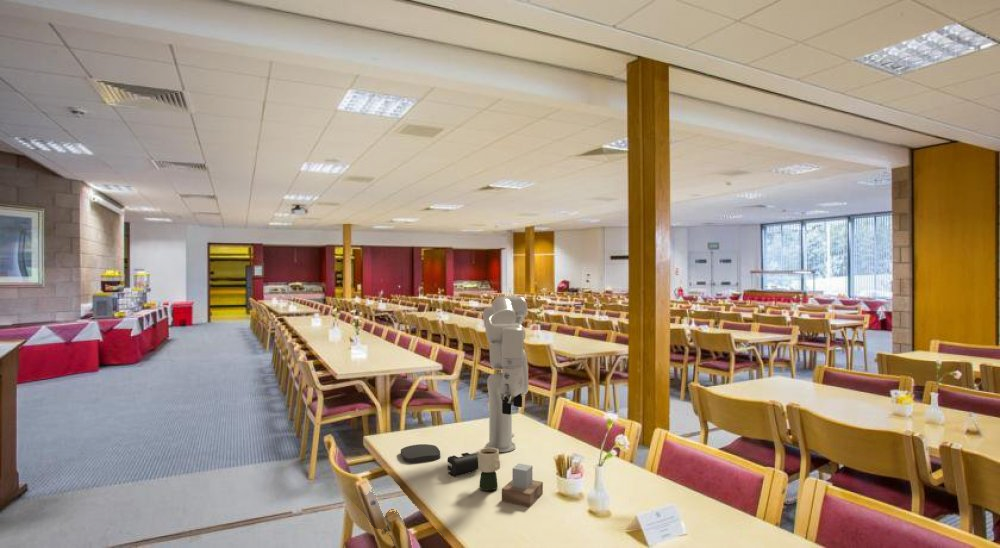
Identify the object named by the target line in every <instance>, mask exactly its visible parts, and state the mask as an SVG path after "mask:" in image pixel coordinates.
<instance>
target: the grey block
mask: <svg viewBox="0 0 1000 548" xmlns="http://www.w3.org/2000/svg"><path fill="white" fill-rule="evenodd" d="M512 480H513V487H517V488H522V489H528V488H529V487H530V486H531V485H532V480H533V465H531V464H530V465H529V464H525V463H524V464H523V463H517V464H516V465H515V466H514V467H512Z"/></svg>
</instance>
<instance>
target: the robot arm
mask: <svg viewBox="0 0 1000 548" xmlns="http://www.w3.org/2000/svg"><path fill="white" fill-rule="evenodd" d="M527 314H528V303H527V301H526V299H525V297H523V296H505V295H504V296H498V297H496V298H494V300H493V301H492V303H491V306H488V307H485V308H484V310H483V313H482V318H483V325H484V328H485V336H486V339H487V342H488V345H489V363H490V367H491V368H492V369H493V370H498V371H502V372H495V373H491V374H490V375H489V376H488V377H487V381H486V384H487V392H488V402H489V404H488V405H489V407H488V414H489V415H488V417H489V418H488V419H489V421H488V424H489V425H488V427H489V428H488V429H489V430H488V432H489V433H488V434H489V435H488V436H489V438H488V440H489V441H488V442H487V443H486V444H485V448H495V449H498V451H499V453H507V452H511V451H513V450H515V449H516V444H515V442H513V441H512V440H513V438H514V437H515V434H514V433H513V430H512V429H513V427H512V426H513V425H512V424H513V423H512V421H513V418H512V417H513V416H512V415H513V411H512V410H513V407H512V402H511V401H512V398H513V406H514V407H515V408H516V407H517V408H522V407H523V396H524V395H526V394H527V393H528V392H529V384H530V383H529V369H528V357H527V356H528V355H527V353H526V351H525V349H524V340H526V329H525V327H524V326H523V323H524V321H525V318H526V317H527Z"/></svg>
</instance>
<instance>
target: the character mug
mask: <svg viewBox="0 0 1000 548" xmlns="http://www.w3.org/2000/svg"><path fill="white" fill-rule="evenodd" d="M477 452H478V453H477V457H478V471H480V472H481V473H480V479H479V489H480V490H481V491H492V490H495V489H498V487H499V484H498V478H497V473H496V471H498V470H500V468H501V461H500V452H499V451H498V449H495V448H486V447H484V448H483V447H482V448H480V449H478V451H477Z"/></svg>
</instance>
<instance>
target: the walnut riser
mask: <svg viewBox="0 0 1000 548" xmlns="http://www.w3.org/2000/svg"><path fill="white" fill-rule="evenodd" d="M543 483H544V482H543V481H539V480H534V479H532V485H531V486H530V487H529V488H528V489H522V488H517V487H513V479H512V480H510V481H509V482H507V484H505V485H504V486H503V487H502V488H501V502H504V503H509V504H514V505H518V506H523V507H528V508H531V507H532V506H533V505H534V504H535V503H536V502H537V501H538V500H539V498H540V497H541V496H543V493H544V491H543V489H544V484H543Z"/></svg>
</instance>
